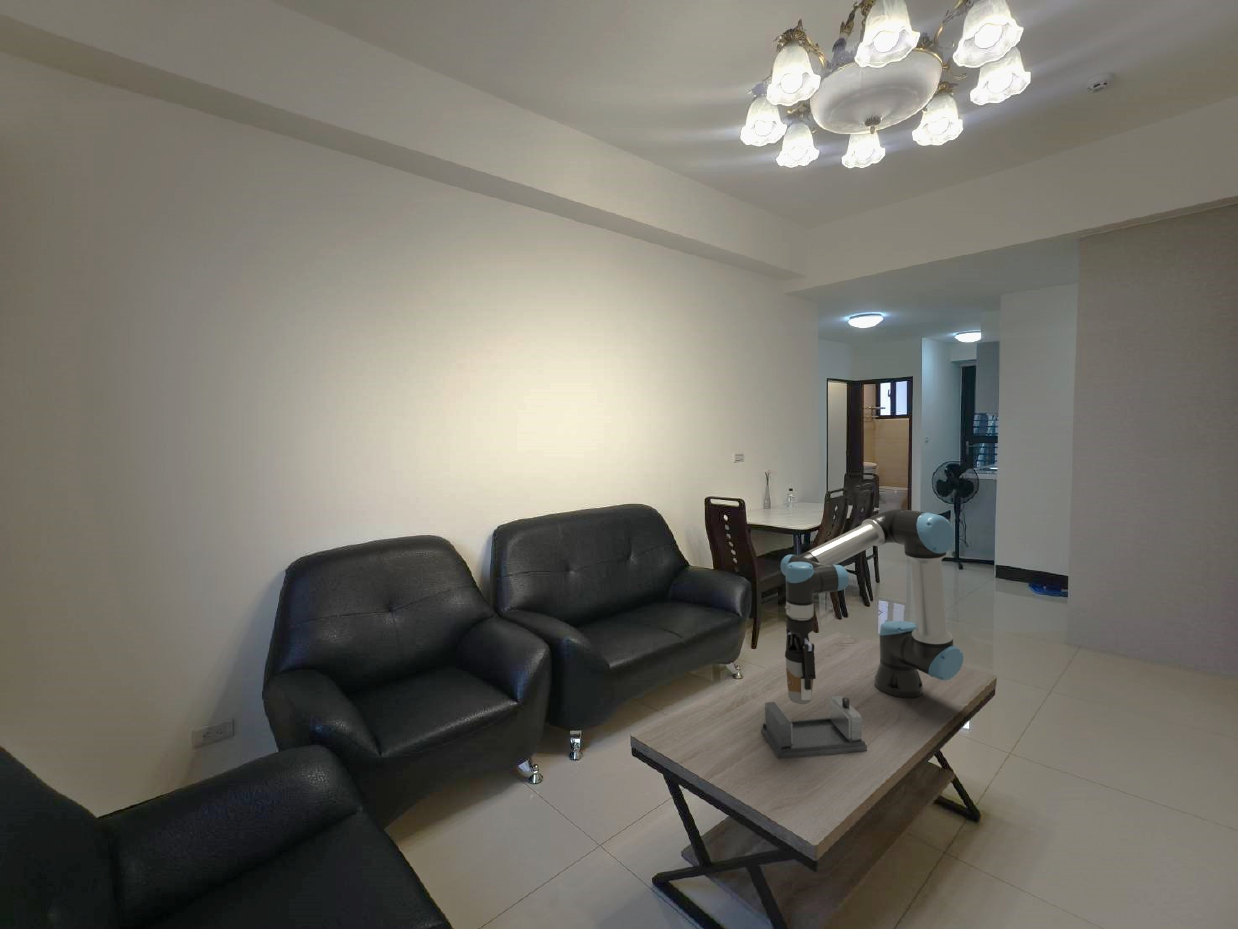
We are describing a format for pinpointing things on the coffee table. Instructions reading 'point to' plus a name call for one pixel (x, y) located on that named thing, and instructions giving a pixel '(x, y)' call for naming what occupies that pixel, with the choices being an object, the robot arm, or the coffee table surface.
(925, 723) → the coffee table surface
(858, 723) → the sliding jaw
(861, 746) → the base
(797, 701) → the coffee cup
